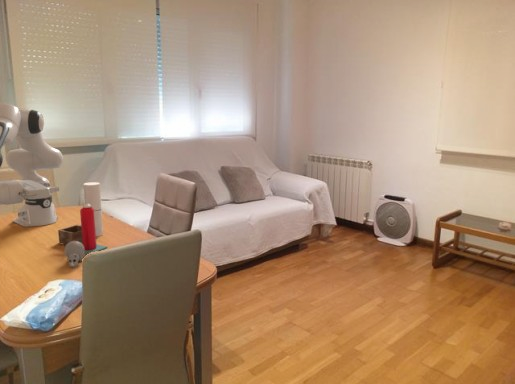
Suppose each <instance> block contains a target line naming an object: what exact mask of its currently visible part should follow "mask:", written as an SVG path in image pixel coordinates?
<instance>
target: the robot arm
mask: <svg viewBox="0 0 515 384" xmlns="http://www.w3.org/2000/svg"><path fill="white" fill-rule="evenodd" d="M44 125H45V119H44V116H43V115H42V113H41V112H40V111H38V110H35V109H28V108H19V107H17V106H15V105H14V104H10V103H1V104H0V168H2V165H3V158H4V157H3V154H2V148H3V146H9V145H11V144H12V143H13V141H14V140H15V139H16V140H15V141H16V143H17V145H18V146H19V148H16V149H11V150H9V151H8V152H7V154H6V157H5V161H6V164H7V166H8V167H9V168H10V169H11V170H13V171H15V172H16V173H17V174H18V175H19V176H20V177H21V178H22V180H20V179H7V180H3V181H1V180H0V206H2V205H3V206H5V205H7V206H9V205H14V204H20V203H23V202H24V204H23V205H22V206H21V207H20V208H19V209H17V217H16V218H14V219H13V220H12V221H13V223H16V224H18V225H20V226H21V227H22V226H23V227H27V228H28V227H37V226H38V227H39V226H46V225H51V224H54V223H56V222H57V220H58V219H59V216H57V214H56V208H55V204H54V203H53V197H52V194H53V193H56V192H59V191H60V187H59V186H50V185H51V184H50V182H51V181H49V179H48V178H46V177H45V176H42V175H40V174H39V173H37V171H43V170H45V171H46V170H54V169H58V168H60V167H62V164H63V163H64V156H63V153H62V152H61V151H60V150H59V149H57V148H55V147H53V146H52V145H49V144H48V143H47V142H46V141H45V139H44V137H43V134H42V131H43V129H44Z"/></svg>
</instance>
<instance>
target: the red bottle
mask: <svg viewBox="0 0 515 384" xmlns="http://www.w3.org/2000/svg"><path fill="white" fill-rule="evenodd" d="M79 212H80V224H81V229H82V242H83V246H84V250H93V249H96V248H97V246H96V244H97V237H96V232H95V217H94V209H93V208H92V207H91V205H90V204H88V203H85V202H84V204H83V205H82V208H80V210H79Z"/></svg>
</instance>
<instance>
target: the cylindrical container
mask: <svg viewBox="0 0 515 384" xmlns="http://www.w3.org/2000/svg"><path fill="white" fill-rule="evenodd" d="M83 196H84V198H83V199H84V204H85V203H88V204H90V205H91V207H92V208H93V209H94V217H95V232H96V238H97V237H101V236H102V235H104V229H103V214H102V213H103V212H102V198H101V196H102V195H101V183H100V182H95V181H93V182H92V181H91V182H90V181H89V182H85V183H83Z"/></svg>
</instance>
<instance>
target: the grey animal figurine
mask: <svg viewBox="0 0 515 384" xmlns="http://www.w3.org/2000/svg"><path fill="white" fill-rule="evenodd" d="M64 254H65V256H66V257H67V259H66V260H67V263H69V267H70V268H72V269H75V268H76V267H78V262H79V263H81V262H83V261H82V259H83V257H84V256H85V255H86V254H85V252H84V246H83V244H82V243H81V242H79V241H71V242H69V243H68V244H67V245H65V246H64Z"/></svg>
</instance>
